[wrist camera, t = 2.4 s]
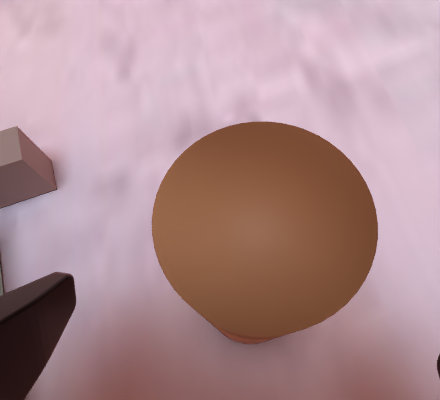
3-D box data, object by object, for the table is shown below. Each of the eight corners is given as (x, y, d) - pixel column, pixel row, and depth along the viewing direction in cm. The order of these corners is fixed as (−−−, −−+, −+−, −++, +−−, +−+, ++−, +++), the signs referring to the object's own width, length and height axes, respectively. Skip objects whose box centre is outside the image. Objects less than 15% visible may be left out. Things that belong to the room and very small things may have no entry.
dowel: (260, 362, 16) (302, 391, 5) (191, 309, 18) (106, 243, 6) (305, 289, 18) (416, 188, 7) (237, 243, 19) (233, 90, 8)
